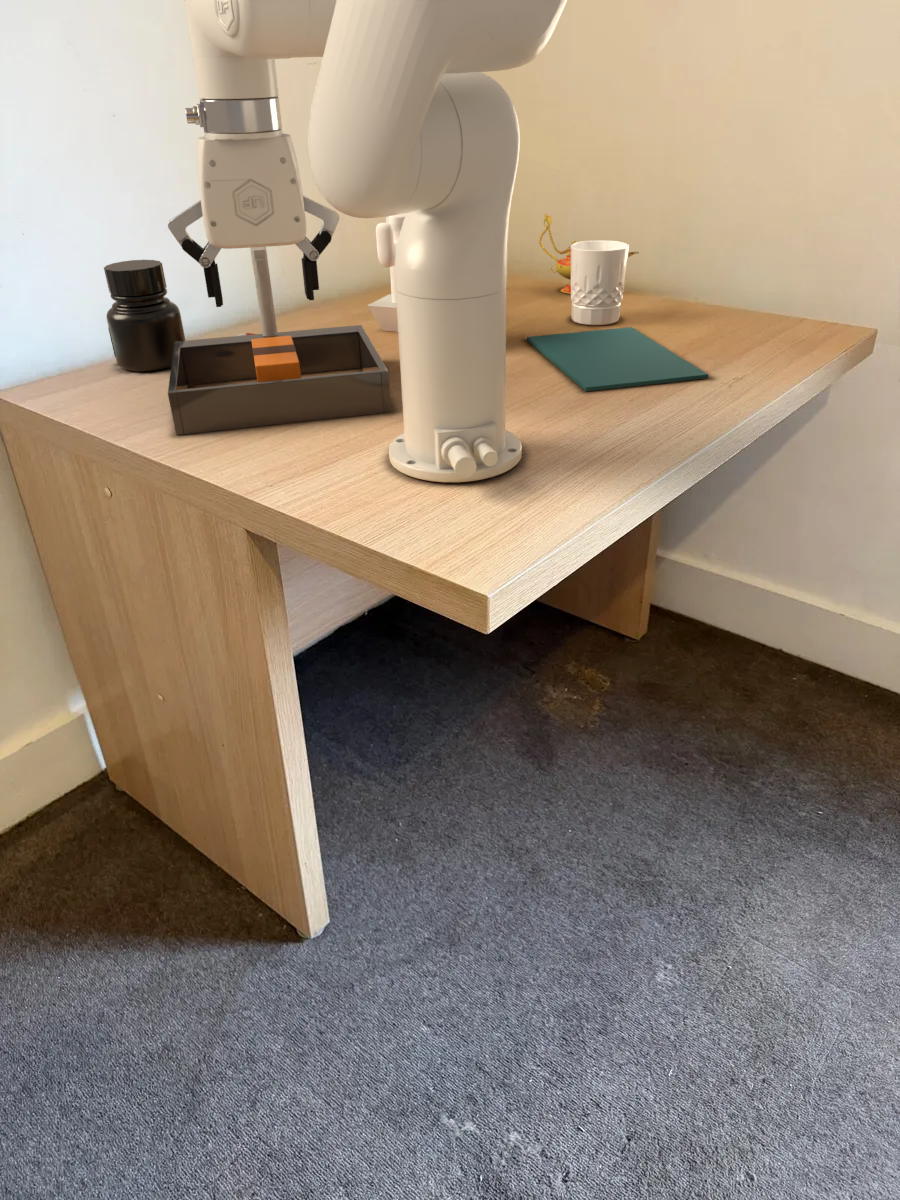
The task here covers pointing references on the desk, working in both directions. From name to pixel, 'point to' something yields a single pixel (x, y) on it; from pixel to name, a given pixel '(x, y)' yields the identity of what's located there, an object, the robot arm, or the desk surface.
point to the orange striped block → (275, 358)
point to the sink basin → (278, 396)
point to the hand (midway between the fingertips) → (265, 300)
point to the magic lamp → (563, 264)
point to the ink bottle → (142, 316)
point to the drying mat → (614, 359)
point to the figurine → (386, 252)
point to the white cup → (597, 281)
